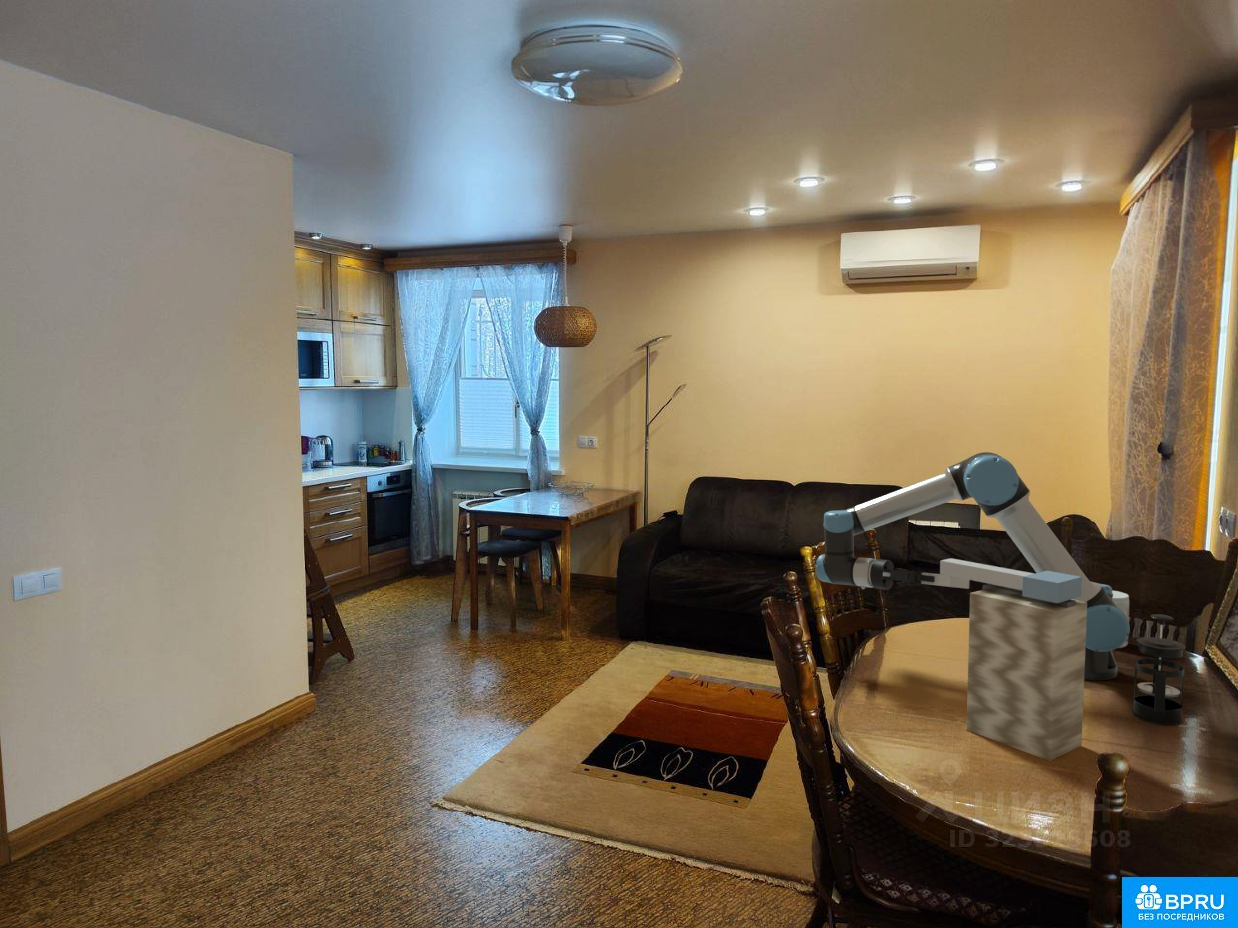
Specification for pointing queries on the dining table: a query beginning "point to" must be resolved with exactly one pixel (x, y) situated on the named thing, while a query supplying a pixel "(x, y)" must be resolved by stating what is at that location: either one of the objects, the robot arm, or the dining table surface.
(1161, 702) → the french press
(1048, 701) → the patterned tall box
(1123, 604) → the supplement tub
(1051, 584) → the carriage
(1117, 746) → the dining table surface
